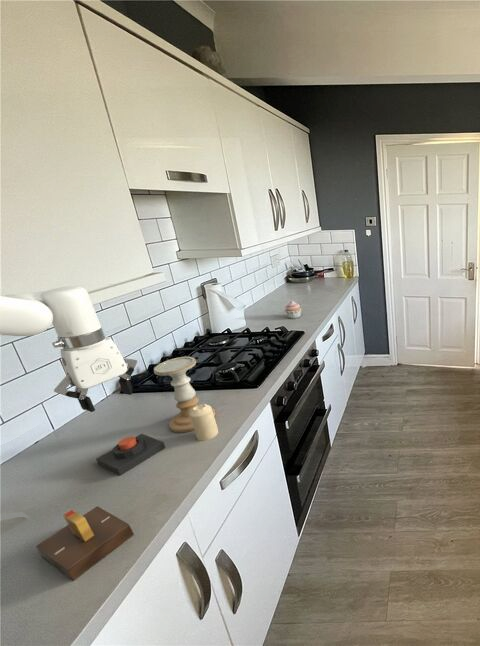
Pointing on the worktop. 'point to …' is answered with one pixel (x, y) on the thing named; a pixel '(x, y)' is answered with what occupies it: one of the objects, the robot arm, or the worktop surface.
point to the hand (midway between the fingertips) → (109, 401)
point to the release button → (127, 443)
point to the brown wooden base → (85, 543)
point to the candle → (203, 422)
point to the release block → (130, 455)
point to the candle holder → (180, 391)
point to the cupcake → (293, 310)
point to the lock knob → (78, 525)
